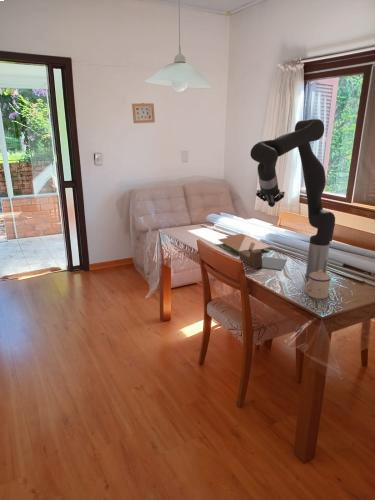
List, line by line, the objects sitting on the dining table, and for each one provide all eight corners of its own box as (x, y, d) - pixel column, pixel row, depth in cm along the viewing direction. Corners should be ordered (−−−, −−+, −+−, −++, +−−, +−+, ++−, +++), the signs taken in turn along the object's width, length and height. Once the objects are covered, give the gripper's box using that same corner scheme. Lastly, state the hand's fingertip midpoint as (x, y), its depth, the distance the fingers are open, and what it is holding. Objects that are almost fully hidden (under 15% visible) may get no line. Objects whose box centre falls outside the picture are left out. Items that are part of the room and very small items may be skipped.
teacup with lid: (318, 289, 167) (321, 265, 164) (333, 297, 159) (336, 272, 156) (297, 293, 163) (299, 269, 159) (311, 302, 155) (314, 276, 151)
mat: (286, 260, 205) (286, 259, 205) (281, 270, 190) (281, 269, 190) (263, 257, 210) (263, 256, 210) (256, 266, 195) (256, 266, 195)
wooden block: (261, 251, 190) (245, 241, 206) (253, 253, 188) (238, 243, 205) (262, 267, 193) (246, 256, 209) (255, 269, 192) (239, 258, 208)
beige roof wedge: (240, 258, 210) (241, 244, 207) (214, 242, 239) (214, 230, 236) (273, 253, 218) (275, 240, 216) (244, 239, 247) (245, 227, 245)
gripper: (285, 175, 154) (288, 199, 169) (254, 173, 160) (259, 197, 174) (282, 189, 151) (285, 213, 166) (251, 187, 157) (256, 210, 171)
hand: (271, 205), depth 170 cm, fingers closed
